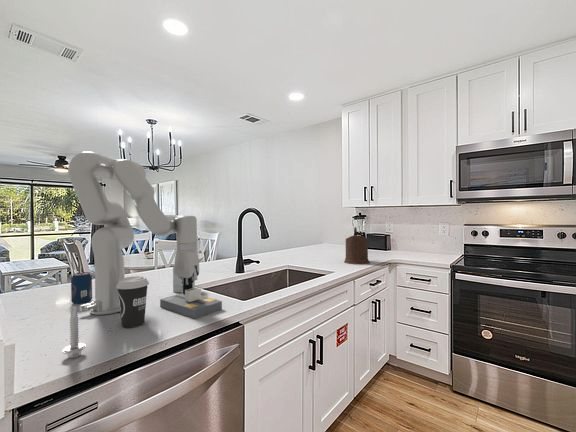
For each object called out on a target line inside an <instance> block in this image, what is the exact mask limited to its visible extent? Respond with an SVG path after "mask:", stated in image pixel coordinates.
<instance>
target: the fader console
mask: <svg viewBox="0 0 576 432" xmlns="http://www.w3.org/2000/svg"><path fill="white" fill-rule="evenodd" d="M159 299H160V300H159V305H160V306H159V307H160V308H162V309H165V310H168V311H171V312H175V313H177V314H180V315H183V316H186V317H189V318H192V319H195V320H196V319H198V318H202V317H205V316H206V315H210V314H212V313H215V312H218V311H221V310H222V309H223V301H222V300H218V299H214V298H211V297H208V296H204V295H201V299H198V300H195V301H192V302H188V301H185V295H183V292H180V293H178V294H175V295H171V296H166V297H164V298H159Z"/></svg>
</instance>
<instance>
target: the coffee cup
mask: <svg viewBox="0 0 576 432" xmlns="http://www.w3.org/2000/svg"><path fill="white" fill-rule="evenodd" d="M149 284H150V282H149V280H148V279H147V277H146V276H143V275H142V276H141V275H140V276H127V277H124V278H123V279H120V280H119V282H118V283H117V285H116V288H117V289H118V295H119V303H120V320H121V327H122V328H124V329H133V328H137V327H138V328H139V327H140V326H143V325H144V324H145V319H146V307H147V306H146V305H147V295H148V285H149Z"/></svg>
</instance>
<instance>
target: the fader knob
mask: <svg viewBox="0 0 576 432" xmlns="http://www.w3.org/2000/svg"><path fill="white" fill-rule="evenodd" d="M201 296H202V288H201V287H197V286H195V288H191V289H187V290H185V301H188V302H192V301H195V300H198V299H201Z"/></svg>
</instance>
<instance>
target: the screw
mask: <svg viewBox="0 0 576 432" xmlns="http://www.w3.org/2000/svg"><path fill="white" fill-rule="evenodd" d="M79 320H80V319H79V314H78V307H77V305H73V306H71V307H70V317H69V330H70V331H69V339H70V340H69V342H70V343H69V344H70V345H67V346H65V347H64V348H63V349H62V353H63V354H64V355H67V358H68V359H71V358H73V359H76V358H78V357H80V356H81V355H82V351H83V350H85V349H86V348H87V345H86V344H85V343H84V342H83V343H82V342H79V341H80V340H79V338H80V337H79V325H80V324H79Z"/></svg>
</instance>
